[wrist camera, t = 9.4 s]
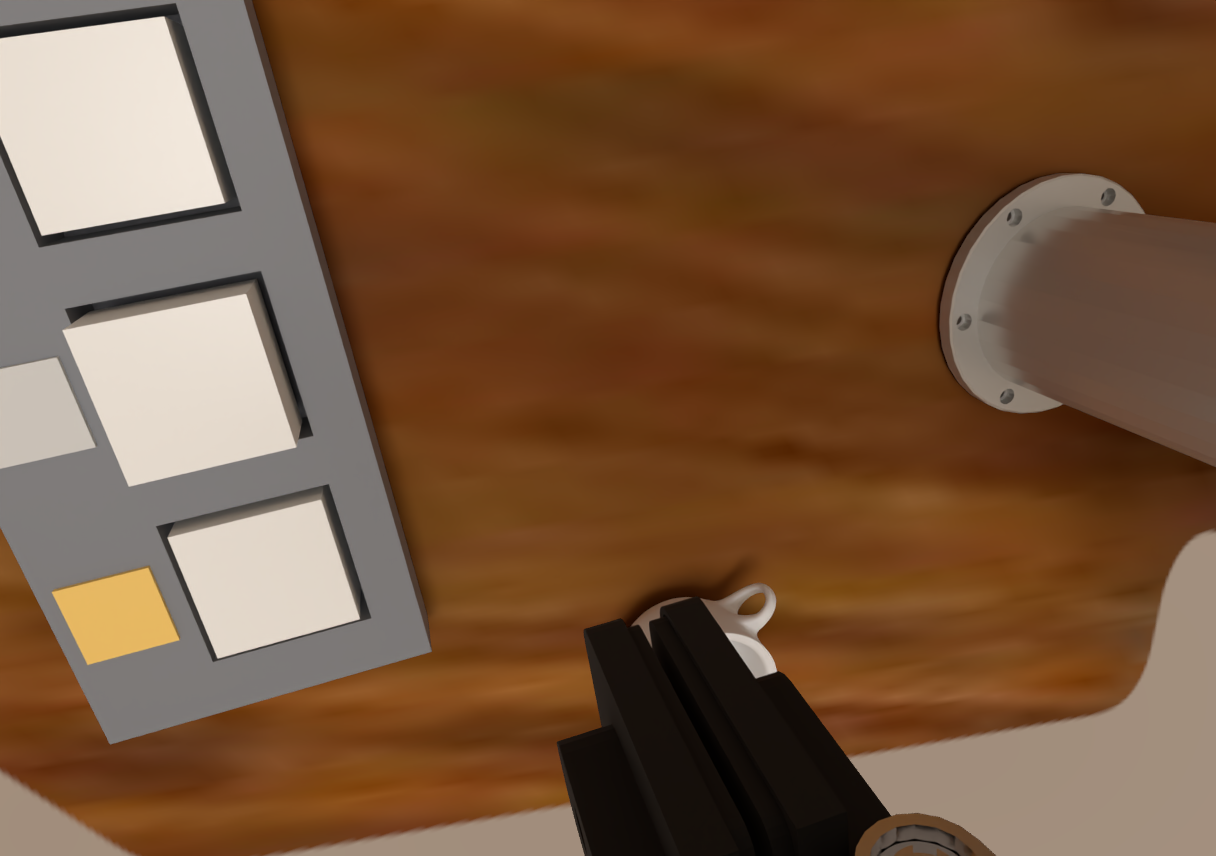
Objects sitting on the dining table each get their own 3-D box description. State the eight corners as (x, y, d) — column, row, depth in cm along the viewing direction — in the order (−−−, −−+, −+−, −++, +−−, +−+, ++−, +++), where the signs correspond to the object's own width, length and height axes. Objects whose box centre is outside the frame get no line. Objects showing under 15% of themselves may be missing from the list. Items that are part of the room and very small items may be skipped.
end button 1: (324, 471, 36) (321, 499, 34) (360, 584, 39) (359, 619, 36) (182, 505, 35) (167, 537, 33) (228, 619, 38) (217, 658, 35)
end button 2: (183, 25, 30) (164, 16, 27) (237, 196, 32) (224, 203, 29) (1, 50, 28) (-39, 43, 26) (70, 225, 31) (41, 235, 28)
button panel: (230, -76, 29) (214, -98, 26) (427, 616, 41) (431, 654, 38) (-219, -24, 27) (-291, -41, 24) (128, 699, 38) (108, 747, 35)
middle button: (256, 278, 32) (245, 293, 29) (302, 421, 34) (296, 447, 31) (89, 311, 30) (62, 330, 28) (148, 456, 33) (128, 486, 30)
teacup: (669, 718, 47) (704, 787, 42) (573, 657, 44) (598, 724, 39) (787, 592, 46) (836, 647, 42) (698, 520, 43) (739, 571, 38)
